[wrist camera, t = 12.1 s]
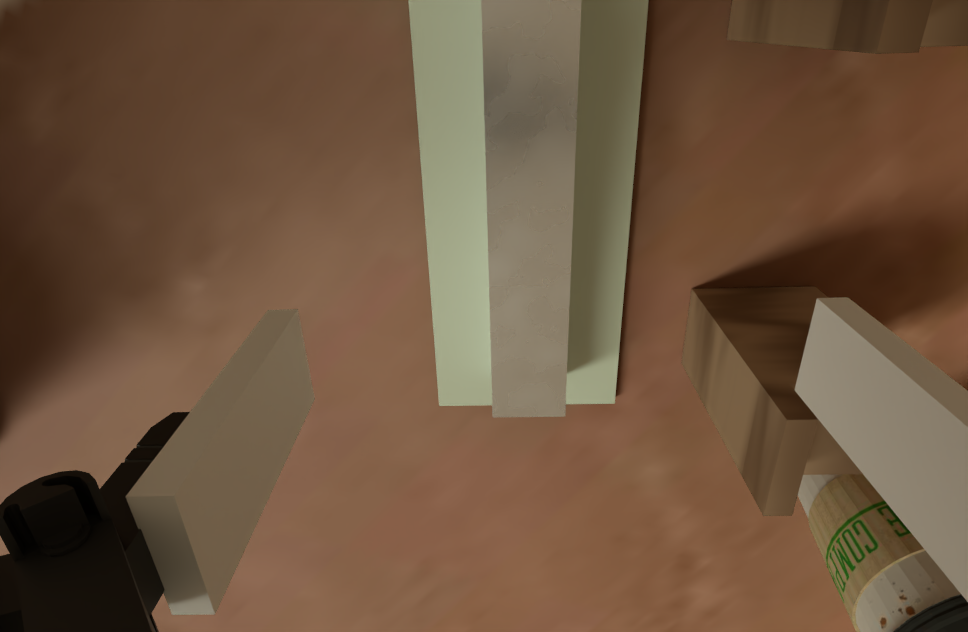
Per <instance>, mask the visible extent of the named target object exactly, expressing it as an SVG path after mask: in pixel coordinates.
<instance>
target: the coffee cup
mask: <svg viewBox="0 0 968 632" xmlns="http://www.w3.org/2000/svg"><path fill="white" fill-rule="evenodd" d="M798 497H799V499H800V501H801V503H802V505H803V508H804V510H805V512H806V514H807V516H808V521H809V527H810V529H811V531H812V534H813V536H814V538H815V540H816V543H817V545H818V547H819V549H820V552H821V554H822V556H823V558H824V561H825V563H826V565H827V567H828V570H829V572H830V574H831V576H832V579H833V581H834V583H835V585H836V588H837V590H838V592H839V594H840V597H841V599H842V601H843V603H844V605H845V608H846V610H847V612H848V614H849V617H850V619H851V621H852V623H853V626H854V628H855V630H856V632H968V602H967V601H966V599H965V598H964V597H963V596H962V594H961V593H960V592H959V591H958V590H957V588H956V587H955V586H954V585H953V583H952V582H951V581H950V580H949V579H948V577H947V576H946V575H945V574H944V572H943V571H942V570H941V569H940V568H939V566H938V565H937V564H936V563H935V561H934V560H933V559H932V558H931V557H930V555H929V554H928V553H927V552H926V550H925V549H924V548H923V547H922V546H921V544H920V543H919V542H918V541H917V539H916V538H915V537H914V536H913V535H912V533H911V532H910V531H909V530H908V528H907V527H906V526H905V525H904V524H903V522H902V521H901V520H900V519H899V517H898V516H897V515H896V514H895V513H894V511H893V510H892V509H891V508H890V506H889V505H888V504H887V503H886V502H885V500H884V499H883V498H882V497H881V495H880V494H879V493H878V492H877V491H876V489H875V488H874V487H873V486H872V484H871V483H870V482H869V481H868V480H867V478H866V477H865V476H864V475H863V474H839V475H803V477H802V481H801V485H800V488H799V492H798Z"/></svg>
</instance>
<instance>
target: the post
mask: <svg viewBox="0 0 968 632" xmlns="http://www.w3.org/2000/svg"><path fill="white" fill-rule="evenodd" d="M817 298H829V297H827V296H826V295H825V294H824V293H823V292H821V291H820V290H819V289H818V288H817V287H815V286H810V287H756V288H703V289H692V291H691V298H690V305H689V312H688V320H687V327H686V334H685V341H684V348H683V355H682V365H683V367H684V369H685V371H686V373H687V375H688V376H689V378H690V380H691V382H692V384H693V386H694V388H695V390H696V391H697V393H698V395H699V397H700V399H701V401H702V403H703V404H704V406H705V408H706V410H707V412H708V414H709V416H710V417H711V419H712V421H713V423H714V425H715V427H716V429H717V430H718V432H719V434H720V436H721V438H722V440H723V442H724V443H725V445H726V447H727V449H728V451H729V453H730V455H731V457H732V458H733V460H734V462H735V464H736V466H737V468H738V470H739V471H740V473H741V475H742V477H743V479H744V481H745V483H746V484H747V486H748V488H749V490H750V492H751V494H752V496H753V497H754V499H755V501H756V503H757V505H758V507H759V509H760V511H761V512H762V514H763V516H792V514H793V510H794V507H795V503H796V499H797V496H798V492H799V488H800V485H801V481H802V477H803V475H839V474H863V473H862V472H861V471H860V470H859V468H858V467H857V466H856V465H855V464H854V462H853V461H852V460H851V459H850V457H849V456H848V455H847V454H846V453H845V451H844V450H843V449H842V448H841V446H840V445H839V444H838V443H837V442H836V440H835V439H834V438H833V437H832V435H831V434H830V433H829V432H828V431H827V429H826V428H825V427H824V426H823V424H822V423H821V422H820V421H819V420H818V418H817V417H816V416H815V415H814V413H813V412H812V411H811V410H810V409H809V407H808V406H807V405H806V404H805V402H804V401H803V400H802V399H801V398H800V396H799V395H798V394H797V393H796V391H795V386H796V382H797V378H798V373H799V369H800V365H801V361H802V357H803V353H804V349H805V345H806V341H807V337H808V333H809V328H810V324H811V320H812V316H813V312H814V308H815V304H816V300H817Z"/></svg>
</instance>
